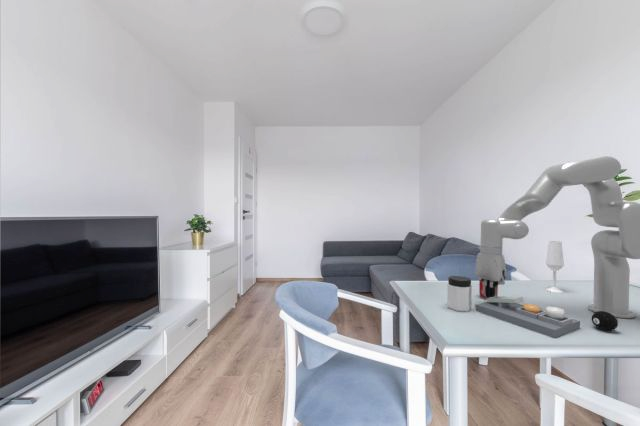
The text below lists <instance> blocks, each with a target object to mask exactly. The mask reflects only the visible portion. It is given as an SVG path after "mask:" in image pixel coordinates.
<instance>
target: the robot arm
mask: <svg viewBox="0 0 640 426" xmlns="http://www.w3.org/2000/svg"><path fill="white" fill-rule="evenodd" d="M621 170H622V165H621V163H620V161H619V160H618V159H617V158H615V157H612V156H599V157H595V158H589V159H584V160H579V161H578V160H576V161H571V162H565V163H560V164H555V165H551V166H549V167H547V168H546V169H545V170H544V171H543V172H542V173H541V174H540V176H539V177H538V178H537V179H536V180H535V182H534V183H533V184H532V185H531V186H530V188H529V189H528V190H527V191H526V192H525V194H524V195H522V196H521V197H519V198H518V199H517V200H516V201H515V202H514V203H511V204H510V205H509V206H508V207H507V208H506V209H504V211H503V212H502V213H501V215H500V216H499V217H498V219H483V220H482V221H481V223H480V245H478V246H477V249H478V250H479V251H480V252H478V253H477V255H476V260H475V261H476V262H475V269H474V271H475V272H474V274H475V275H474V276H476V278H477V280H482V282H483V283H484V286H485V293H486V296H487V297H494V295H495V287H497V285H498V286H500V285H501V286H502V285H503V286H504V285H505V284H506V282H505V280H506V278H507V270H506V268H507V267H506V260H505V255H504V254H503V243H504V242H503V241H504V239H511V240H521V239H523V238H526V237H527V236H528V234H529V226H528V225H527V223H526V222H523V221H522V220H524V219H525V218H526V217H527V216H529V215H531V214H533V213H535V212H539V211H541V210H543V209H544V208H545V209H546V208H547V207H548V206H549V205H550V203H552V201H553V200H554V199H555V198H556V197H557V195H558V194H559V193H560V191H562V189H563V188H564V187H570V186H572V187H573V186H578V185H582V186H584V187H585V188H586V189H587V191H588V193H589V196H590V197H589V198H590V203H591V212H592V218H593V221H594V222H595V224H596V225H598V226H600V227H607V228H617V229H618V230H612V229H607V230H605V229H603V230H600V231H598V232H596V233H594V234H593V235H592V237H591V241H590V244H591V251H592V254H593V255H592V256H593V303H591V304H588V305H587V308H588V310H589V311H591V312H593V313H595V312H598V311H605V312H608V313H611V314H612V315H614V316H615V317H616V318H620V319H634V318H635V317H636V314H635V312H634V311H631V310H630V276H631V275H630V274H631V273H630V272H631V270H630V269H631V268H630V263H629V262H628V260H627V259H632V260H640V203H639V202H635V201H624V199H623V194H622V190H621V186H620V185H619V183H618V181H617V179H615V177H616V176H618V175H619V174H620V172H621Z"/></svg>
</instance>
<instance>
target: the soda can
mask: <svg viewBox="0 0 640 426" xmlns="http://www.w3.org/2000/svg"><path fill="white" fill-rule="evenodd" d="M478 280H479V279H478ZM478 283H479V284H478V285H479V289H478V290H479V296H480V297H481V298H482V299H485V300H486V298H490V297H487V296H486V293H485V286H484V283H483V282H482V280H479V282H478ZM498 286H499V285H497V287H495V295H494V296H497V297H498V294H499V293H498V292H499V289H498V288H499V287H498Z"/></svg>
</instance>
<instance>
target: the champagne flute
mask: <svg viewBox="0 0 640 426" xmlns="http://www.w3.org/2000/svg"><path fill="white" fill-rule="evenodd" d="M563 252H564V251H563V242H562V241H558V240H557V241H556V240H548V245H547V254H546V259H545V260H546V261H545V264H546V266H547V267H548V268H549V269H550V270H551V271H552V286H551V287H548V288H545V290H546V291H547V290H548V291H547V292H550V291H551V293H558V294H563V293H564V291H563V290H562V289H559V288H558V287H557V271H559V270H561V269H563V267H564V266H565V264H564V254H563Z"/></svg>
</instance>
